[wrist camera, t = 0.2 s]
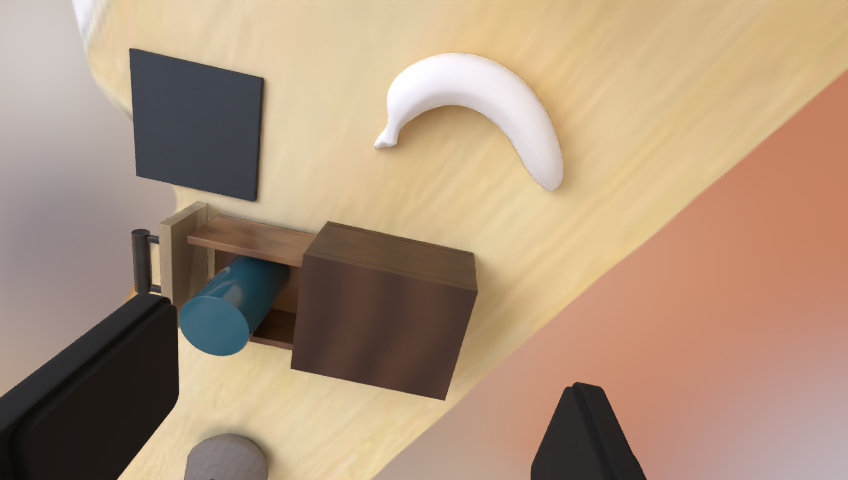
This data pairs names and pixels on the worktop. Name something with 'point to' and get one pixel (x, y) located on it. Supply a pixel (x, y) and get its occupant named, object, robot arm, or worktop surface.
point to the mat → (196, 124)
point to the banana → (478, 107)
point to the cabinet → (382, 310)
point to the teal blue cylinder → (233, 304)
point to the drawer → (220, 262)
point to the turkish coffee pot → (226, 460)
